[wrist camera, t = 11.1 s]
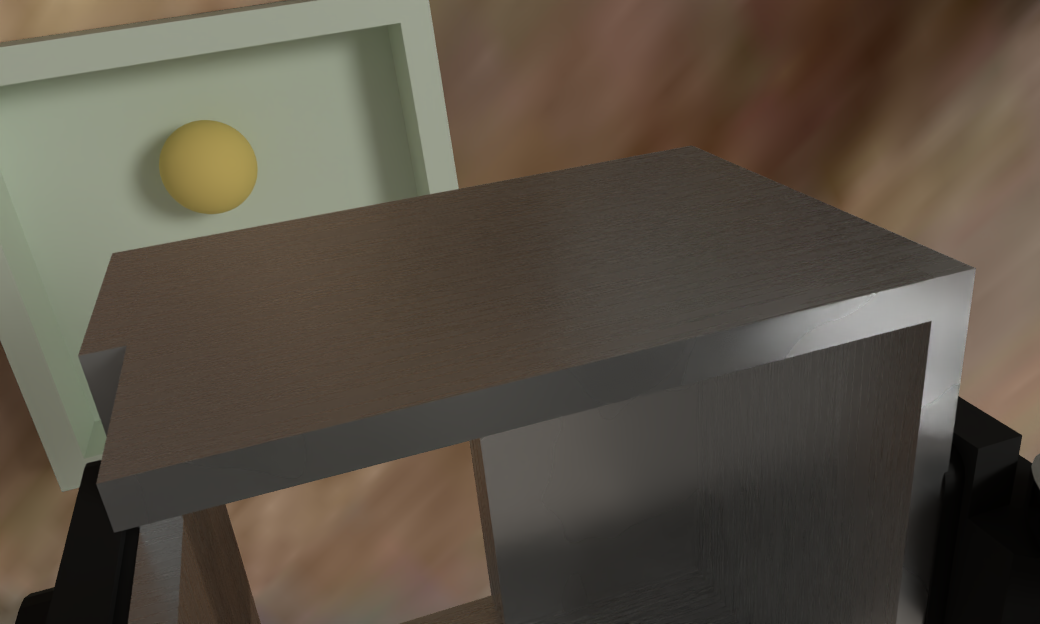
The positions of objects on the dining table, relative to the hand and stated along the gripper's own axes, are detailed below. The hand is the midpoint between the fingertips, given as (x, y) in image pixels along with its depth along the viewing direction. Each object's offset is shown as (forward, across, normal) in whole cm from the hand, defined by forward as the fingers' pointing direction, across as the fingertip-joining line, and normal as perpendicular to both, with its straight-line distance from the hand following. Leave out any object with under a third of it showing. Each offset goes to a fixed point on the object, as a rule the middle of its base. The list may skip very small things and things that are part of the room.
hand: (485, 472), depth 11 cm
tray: (+22, +3, +3) cm, 23 cm away
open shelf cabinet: (+1, 0, 0) cm, 1 cm away
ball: (+19, +4, +1) cm, 20 cm away
